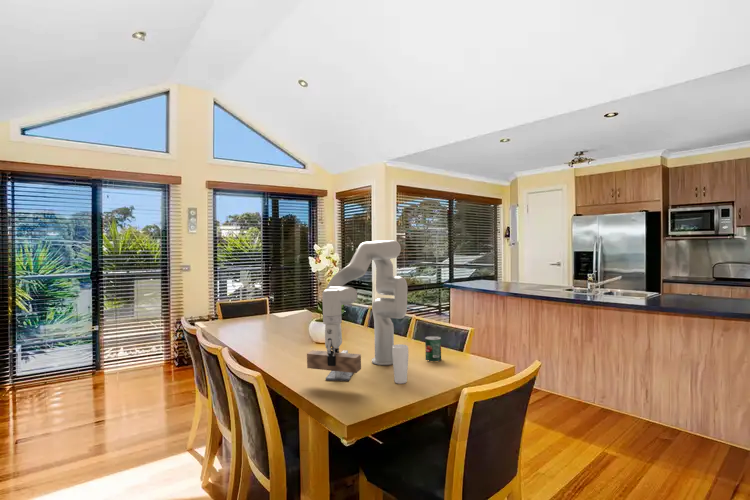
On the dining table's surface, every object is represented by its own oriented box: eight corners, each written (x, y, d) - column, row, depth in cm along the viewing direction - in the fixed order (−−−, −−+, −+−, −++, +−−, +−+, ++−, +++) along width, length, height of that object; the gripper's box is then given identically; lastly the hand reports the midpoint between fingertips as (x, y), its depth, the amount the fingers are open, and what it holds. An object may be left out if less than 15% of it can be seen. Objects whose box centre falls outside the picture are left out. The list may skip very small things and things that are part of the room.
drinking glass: (404, 385, 156) (403, 349, 156) (389, 383, 160) (389, 347, 160) (411, 380, 162) (411, 345, 162) (397, 378, 165) (396, 343, 165)
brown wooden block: (361, 369, 156) (360, 354, 155) (356, 373, 151) (355, 358, 151) (313, 364, 163) (312, 350, 163) (307, 368, 159) (306, 353, 158)
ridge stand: (356, 368, 181) (356, 350, 181) (348, 381, 163) (348, 361, 163) (335, 367, 182) (335, 349, 182) (325, 380, 164) (325, 360, 164)
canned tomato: (422, 359, 193) (421, 337, 193) (432, 356, 198) (432, 335, 198) (434, 362, 187) (434, 340, 187) (444, 359, 192) (444, 337, 192)
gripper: (336, 323, 148) (337, 370, 148) (345, 315, 165) (347, 356, 165) (317, 323, 149) (318, 370, 149) (328, 315, 166) (330, 356, 166)
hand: (333, 362), depth 157 cm, fingers closed on brown wooden block, 5 cm apart
